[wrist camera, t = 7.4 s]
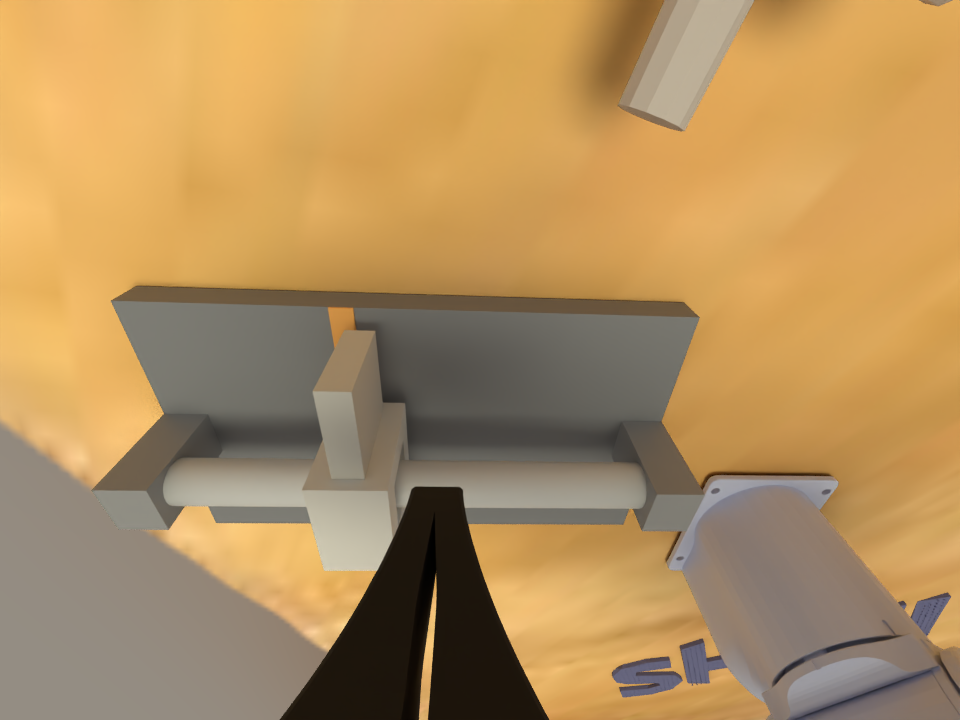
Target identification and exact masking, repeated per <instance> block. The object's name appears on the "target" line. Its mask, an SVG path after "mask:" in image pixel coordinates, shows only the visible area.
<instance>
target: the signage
mask: <svg viewBox="0 0 960 720" xmlns="http://www.w3.org/2000/svg"><path fill="white" fill-rule="evenodd" d="M950 598H951V596H950V595H949V594H948V593H944V594H941V595H938V596H934V597H931V598H928V599H924V600H921V601H918V602H917V604H916V606H915V609H914V611H913V613H912V616H911V619H912V620H913V621H914V622H915V623H916V624H917V626H918V627H919V628H920V629H921V630H922V632H923V633H924V634H925V635H926V636H927V635H928V633H930V630H931V628H932V627H933V626H934V624H935V622H936V620H937V619H938V617H939V615H940V614H941V612H942V611H943V609H944V607H945V606H946V604H947V603H948V601H949V599H950ZM898 603H899V604H900V606H901V607H902V608H903V609H905V607H906V603H905V602H904V601H901V602H898ZM680 649H681V654H682V659H683V663H684V668H685V673H686V677H687V682H688V683H692V686H693V683H701V684H702V683H710V681H709V674H708V671H710V670H716V669H722V668H723V669H724V668H728V667H727V666H726V664H725V663H724V661H723V659H722V657H721V655H720V656H716V657H710V658H706V652H705V645H704V641H703V639H699V640H696V641H693V642H690V643H687V644H684V645H680ZM664 668H671V663H670V659H669V657H660V658H650V659H644V660H640V661H636V662H632V663H628V664H623V665H621V666H619V667H618V668H616V669H615V670H614V671H613V672H612V676H613V678H614V680H615V681H616V682H617V683H623V684H645V683H654V684H650V685H641V686H629V687H619V688H620V692H621V694H622V696H623V697H631V696H640V695H649V694H654V693H658V692H662V691H666V690H670V689H673V688H674V687H675V686H677V685H678V684H679V683H680V682H682V681H683V680H682V678H681V676H680V675H679V674H677V673H676V672H674V671H671V672H642V671H650V670H657V669H664Z"/></svg>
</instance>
